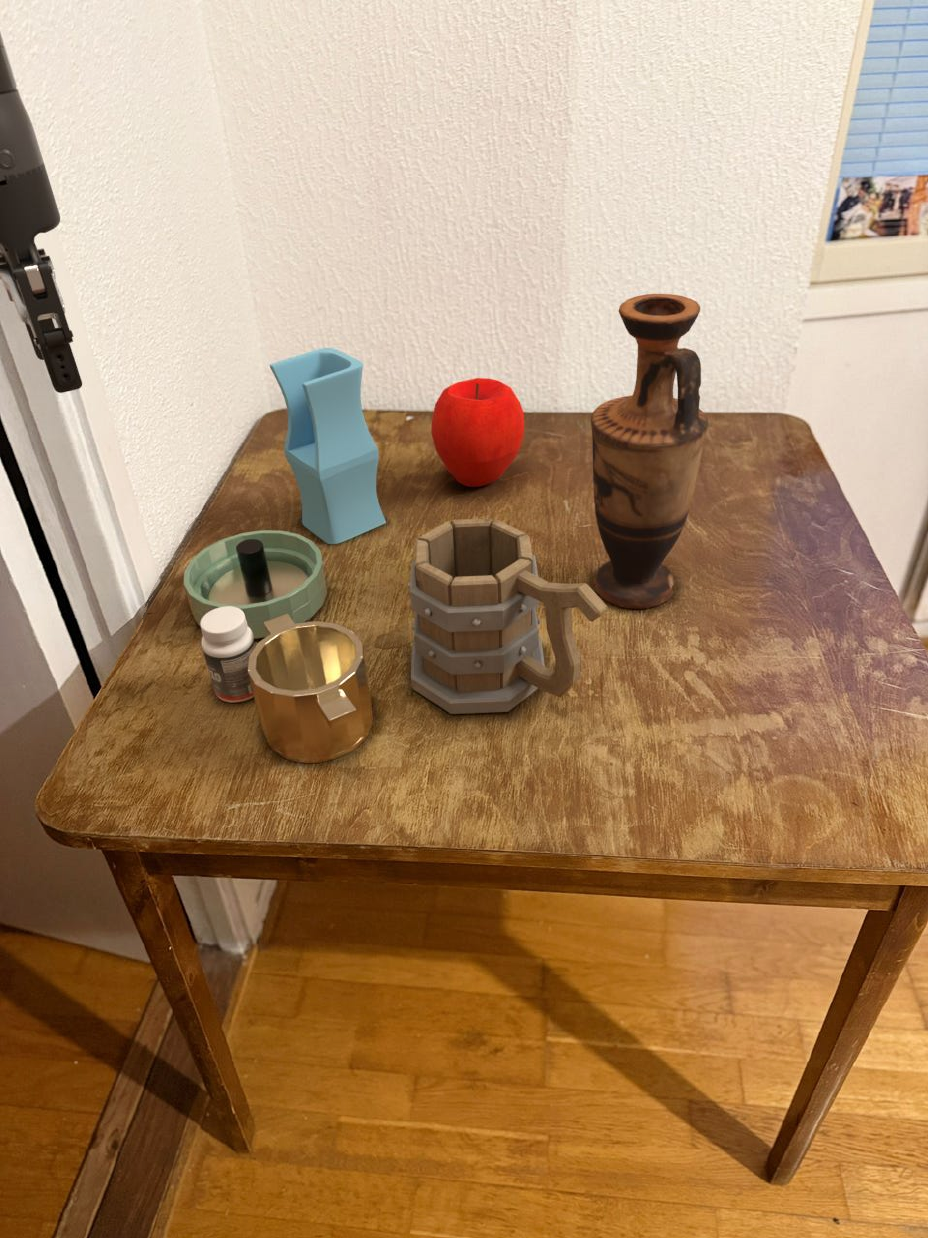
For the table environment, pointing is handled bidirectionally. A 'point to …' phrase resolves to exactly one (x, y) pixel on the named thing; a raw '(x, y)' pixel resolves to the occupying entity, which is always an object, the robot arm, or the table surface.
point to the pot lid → (255, 578)
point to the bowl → (276, 548)
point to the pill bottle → (228, 652)
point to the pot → (311, 689)
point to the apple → (477, 430)
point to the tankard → (489, 619)
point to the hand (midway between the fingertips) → (59, 372)
